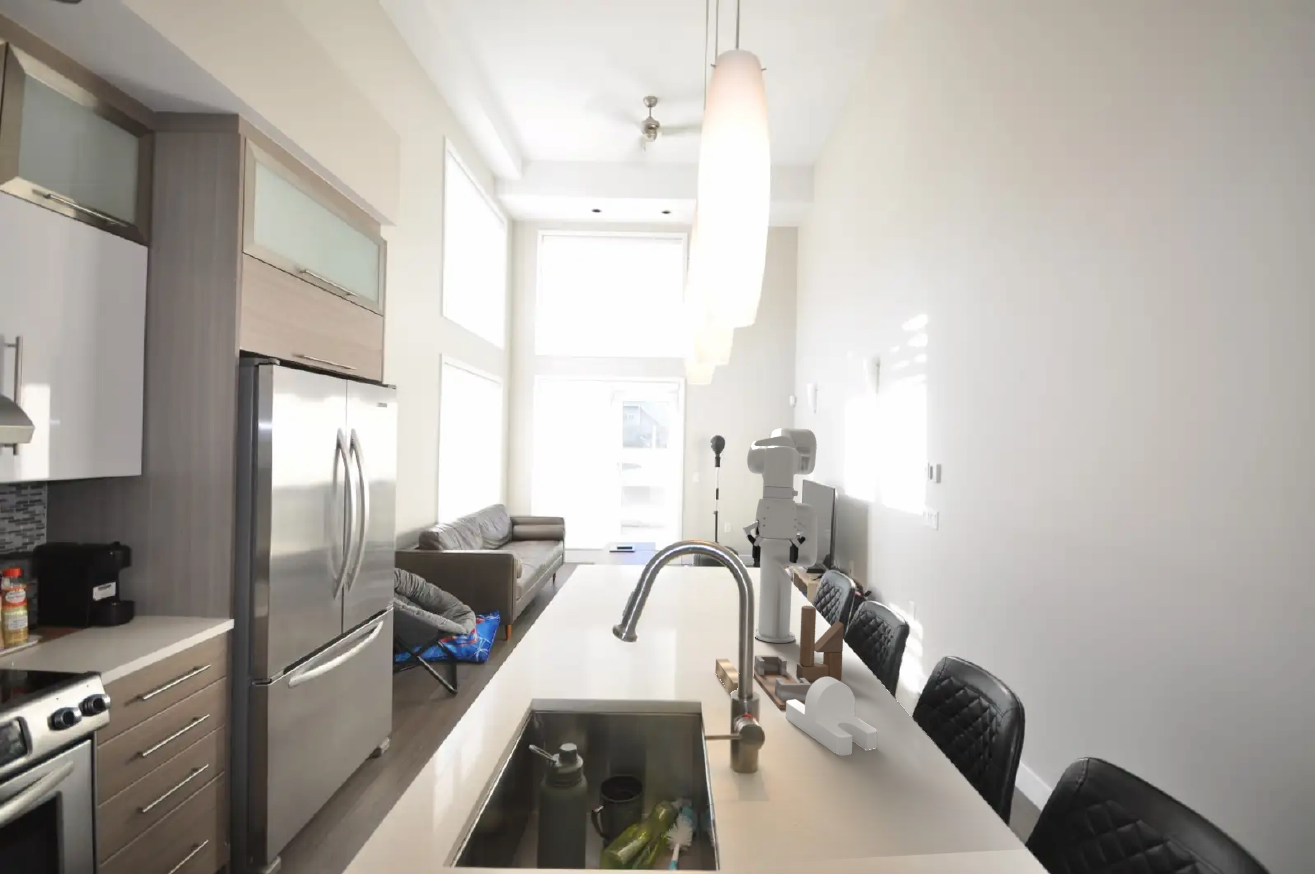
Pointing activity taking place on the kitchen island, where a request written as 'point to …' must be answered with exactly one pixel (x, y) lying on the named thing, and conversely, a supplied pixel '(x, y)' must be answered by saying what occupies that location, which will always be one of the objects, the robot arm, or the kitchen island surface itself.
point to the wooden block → (819, 648)
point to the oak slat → (727, 674)
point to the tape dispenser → (831, 717)
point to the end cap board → (779, 680)
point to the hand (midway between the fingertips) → (774, 562)
